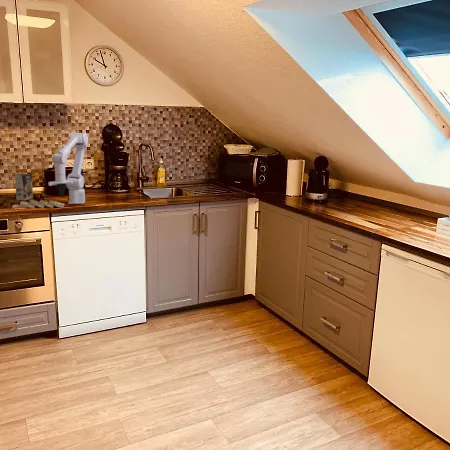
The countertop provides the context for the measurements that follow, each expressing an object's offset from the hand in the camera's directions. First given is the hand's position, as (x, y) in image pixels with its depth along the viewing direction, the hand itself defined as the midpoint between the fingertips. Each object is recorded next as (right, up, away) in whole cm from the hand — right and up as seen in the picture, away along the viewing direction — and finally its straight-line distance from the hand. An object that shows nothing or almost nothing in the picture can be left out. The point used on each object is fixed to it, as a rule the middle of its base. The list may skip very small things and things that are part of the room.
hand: (61, 196), depth 283 cm
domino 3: (-5, -6, +1) cm, 7 cm away
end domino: (-19, -6, -2) cm, 21 cm away
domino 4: (+1, -6, +1) cm, 6 cm away
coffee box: (-31, 0, +22) cm, 38 cm away
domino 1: (-15, -6, -1) cm, 16 cm away
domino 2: (-10, -6, 0) cm, 11 cm away
